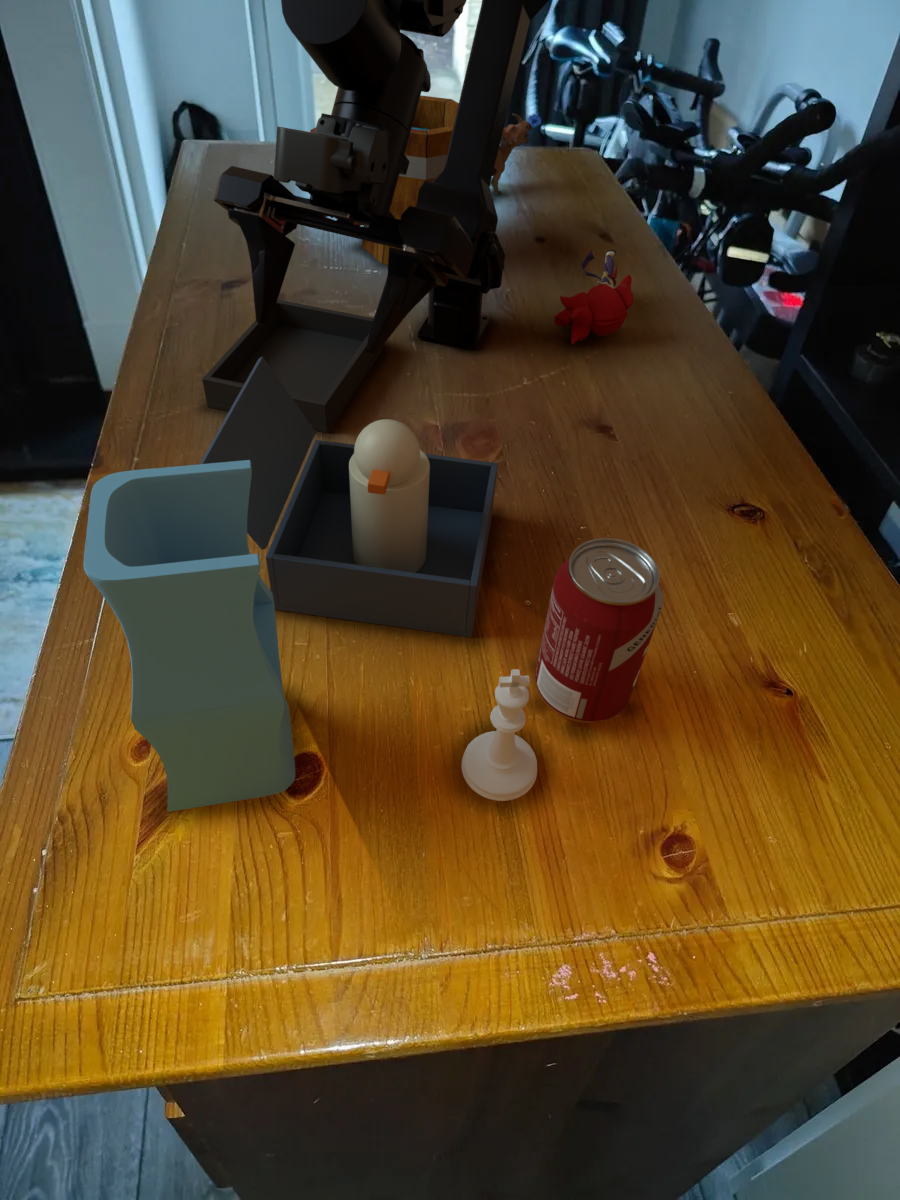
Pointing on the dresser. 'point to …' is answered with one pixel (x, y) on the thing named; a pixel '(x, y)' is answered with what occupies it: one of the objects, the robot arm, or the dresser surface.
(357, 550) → the duck
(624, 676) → the soda can
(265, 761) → the vase
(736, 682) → the dresser surface
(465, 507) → the dark square open box
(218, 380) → the tray
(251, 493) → the flap
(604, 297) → the figurine
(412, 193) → the mug
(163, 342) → the dresser surface
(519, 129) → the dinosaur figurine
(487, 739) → the chess piece
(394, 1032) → the dresser surface
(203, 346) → the dresser surface
